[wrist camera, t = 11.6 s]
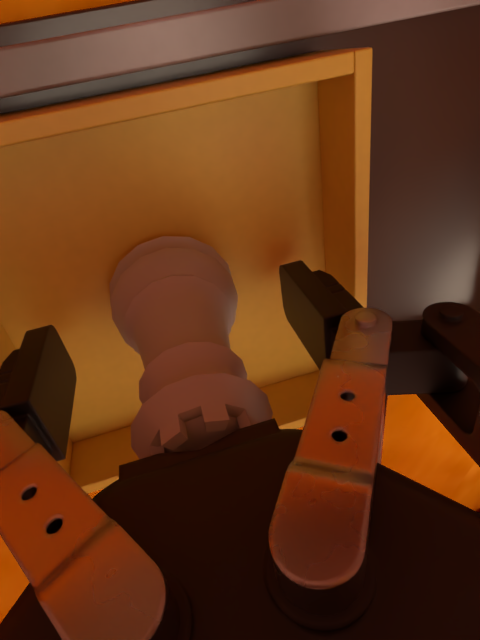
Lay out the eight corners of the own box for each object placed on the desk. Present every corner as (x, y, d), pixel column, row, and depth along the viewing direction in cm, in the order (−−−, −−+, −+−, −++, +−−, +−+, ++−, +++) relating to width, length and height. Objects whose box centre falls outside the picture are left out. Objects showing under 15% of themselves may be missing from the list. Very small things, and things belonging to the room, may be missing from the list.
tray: (-10, 465, 18) (-32, 531, 16) (-254, 165, 11) (-370, 196, 8) (334, 364, 20) (364, 408, 17) (323, 49, 13) (373, 46, 10)
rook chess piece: (213, 345, 17) (271, 525, 10) (100, 330, 15) (83, 534, 9) (246, 245, 15) (345, 390, 8) (121, 216, 13) (120, 368, 7)
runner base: (53, 457, 20) (44, 511, 18) (-208, 64, 11) (-302, 65, 9) (494, 326, 23) (538, 357, 21) (591, -77, 14) (693, -107, 11)
